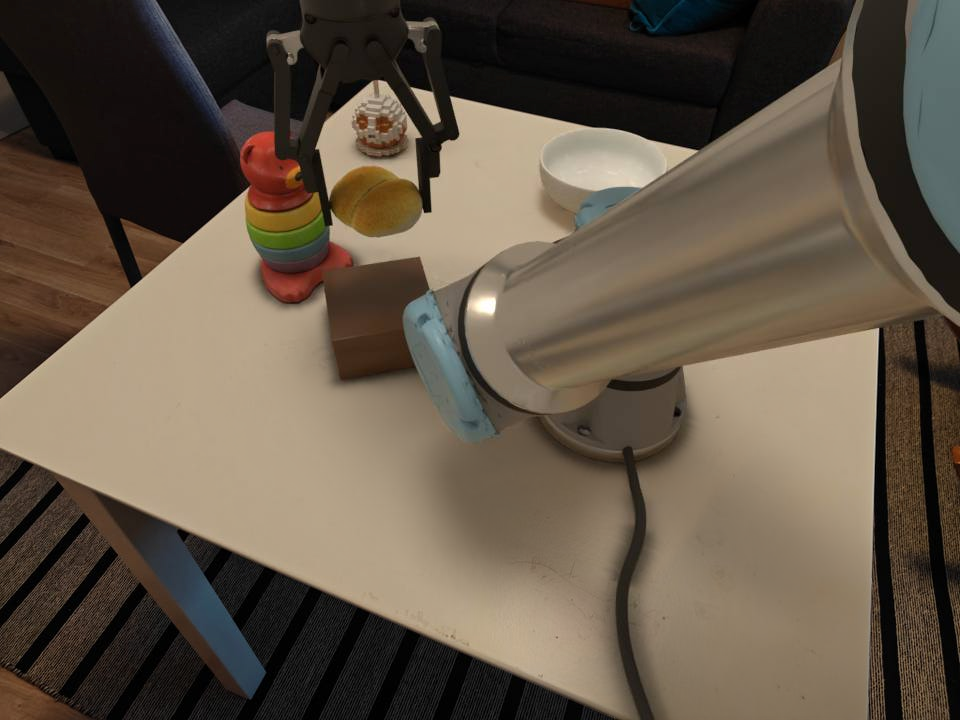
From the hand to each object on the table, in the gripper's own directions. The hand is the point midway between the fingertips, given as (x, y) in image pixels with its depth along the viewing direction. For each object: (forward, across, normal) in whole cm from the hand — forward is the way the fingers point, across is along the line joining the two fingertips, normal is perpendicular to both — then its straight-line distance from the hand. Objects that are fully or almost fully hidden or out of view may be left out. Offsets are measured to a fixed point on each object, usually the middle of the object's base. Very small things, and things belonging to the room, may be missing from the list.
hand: (377, 211), depth 63 cm
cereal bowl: (+15, -32, -18) cm, 39 cm away
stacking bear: (+15, +10, -12) cm, 22 cm away
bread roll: (0, 0, 0) cm, 0 cm away
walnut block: (+15, +1, +2) cm, 15 cm away
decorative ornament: (+15, -4, -39) cm, 42 cm away
